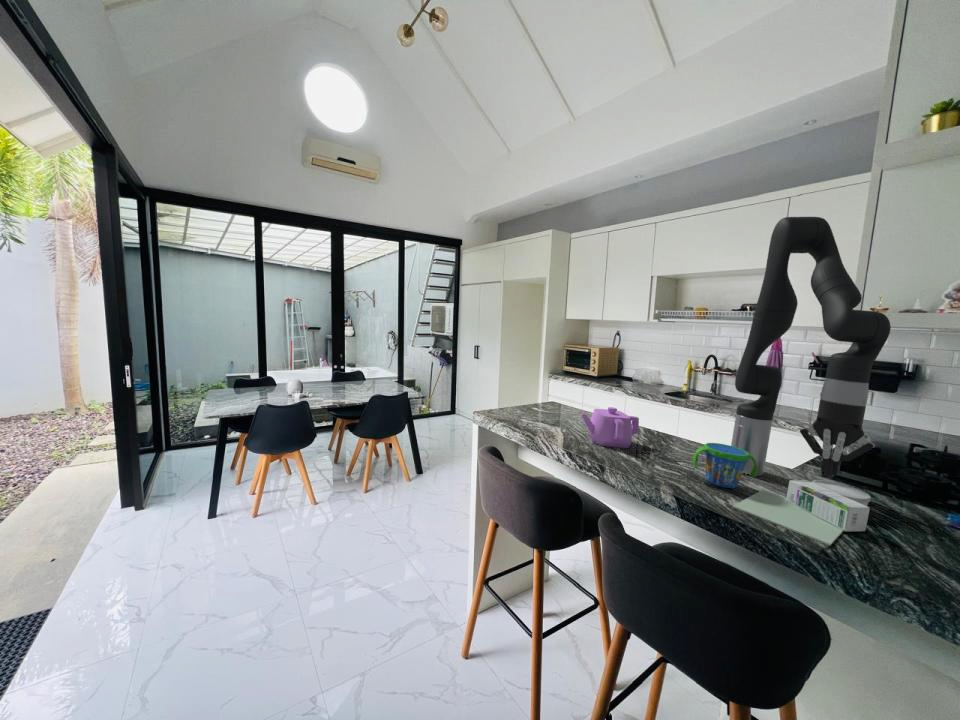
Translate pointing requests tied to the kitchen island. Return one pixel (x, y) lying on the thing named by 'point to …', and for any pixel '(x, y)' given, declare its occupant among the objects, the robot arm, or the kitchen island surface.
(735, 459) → the snack cup
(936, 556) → the kitchen island surface
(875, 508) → the kitchen island surface
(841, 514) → the syrup box
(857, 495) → the ramekin
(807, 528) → the mat
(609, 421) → the teakettle
